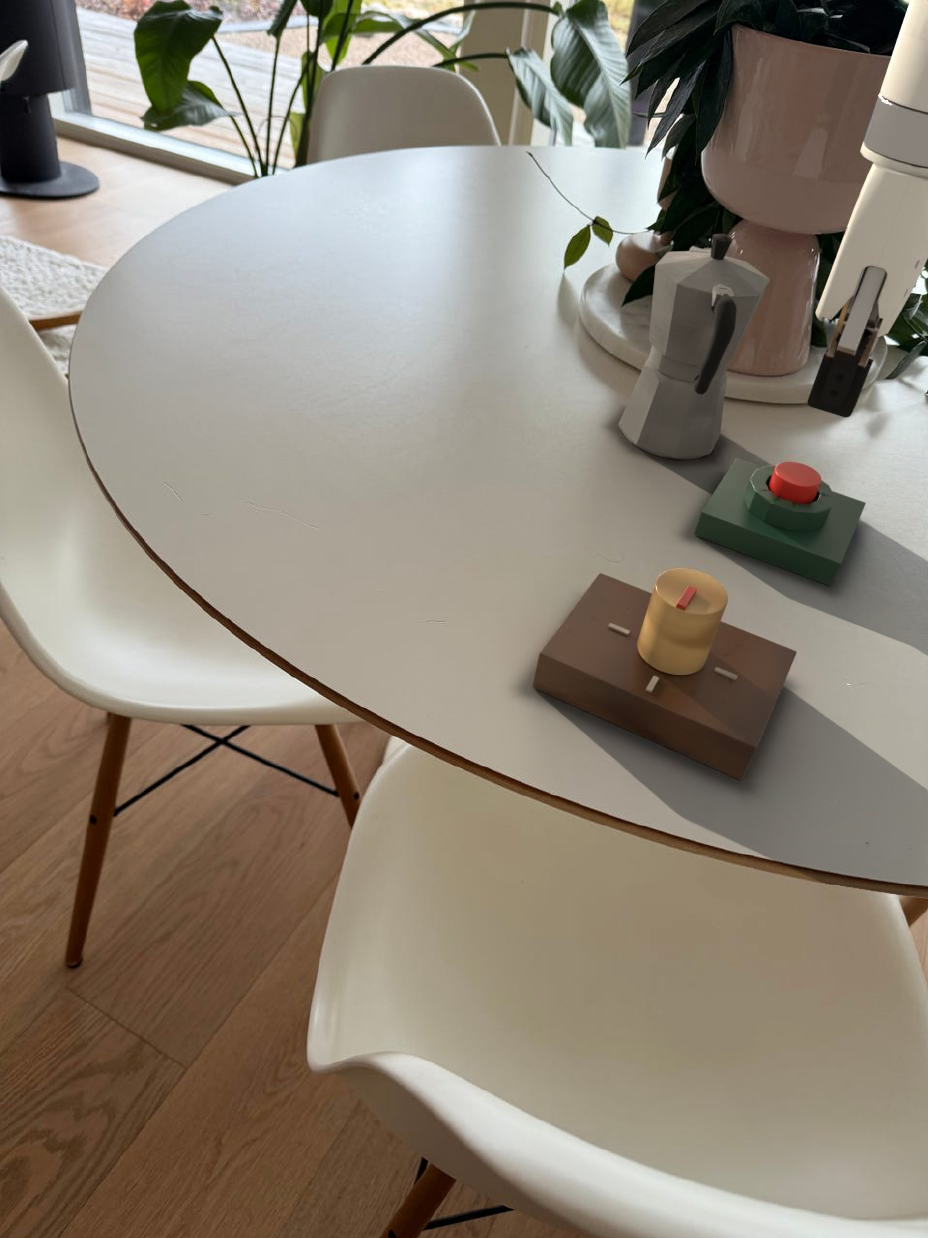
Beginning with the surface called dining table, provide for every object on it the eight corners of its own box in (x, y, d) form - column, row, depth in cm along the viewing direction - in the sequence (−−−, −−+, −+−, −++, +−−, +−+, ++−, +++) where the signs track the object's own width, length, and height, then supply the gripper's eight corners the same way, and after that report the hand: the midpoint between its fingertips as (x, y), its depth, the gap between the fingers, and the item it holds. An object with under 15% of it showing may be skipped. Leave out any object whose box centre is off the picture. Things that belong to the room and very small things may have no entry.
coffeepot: (611, 392, 96) (656, 199, 84) (708, 404, 96) (766, 213, 85) (624, 480, 84) (678, 270, 72) (734, 493, 84) (805, 286, 73)
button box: (856, 524, 83) (874, 483, 80) (830, 586, 76) (849, 544, 73) (729, 479, 86) (742, 438, 84) (693, 534, 79) (707, 492, 77)
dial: (651, 619, 66) (671, 555, 62) (714, 646, 64) (738, 581, 61) (626, 656, 63) (646, 591, 59) (692, 685, 61) (716, 620, 58)
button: (818, 490, 79) (826, 471, 78) (808, 511, 77) (816, 492, 76) (774, 474, 81) (781, 456, 79) (763, 494, 78) (770, 475, 77)
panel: (782, 684, 67) (798, 649, 65) (742, 781, 60) (757, 745, 58) (590, 604, 71) (599, 569, 69) (531, 687, 64) (539, 651, 62)
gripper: (888, 105, 68) (802, 358, 80) (845, 147, 57) (753, 432, 69) (1003, 130, 66) (897, 386, 77) (981, 178, 55) (862, 467, 67)
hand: (830, 407), depth 73 cm, fingers closed
